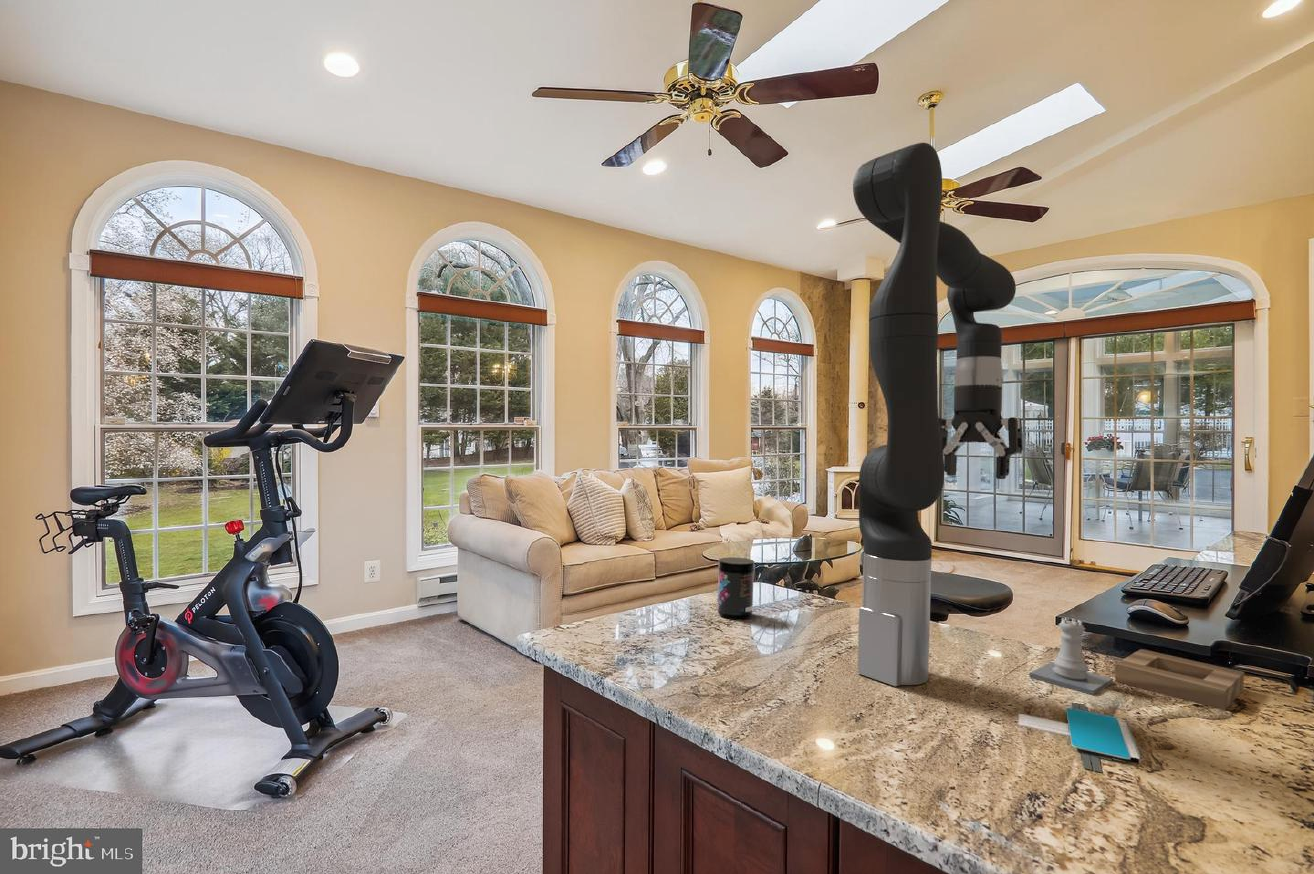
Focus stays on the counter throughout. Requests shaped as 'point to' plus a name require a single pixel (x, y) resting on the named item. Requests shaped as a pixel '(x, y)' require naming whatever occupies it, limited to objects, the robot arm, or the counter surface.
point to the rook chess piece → (1071, 652)
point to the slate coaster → (1087, 686)
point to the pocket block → (1181, 678)
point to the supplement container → (735, 588)
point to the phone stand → (1090, 735)
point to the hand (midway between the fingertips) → (975, 477)
